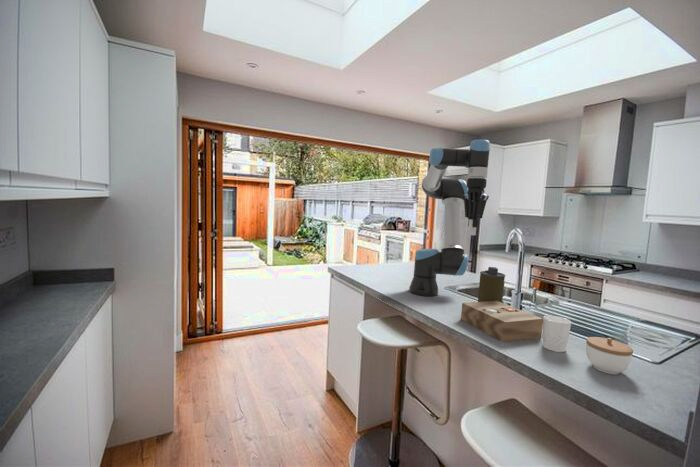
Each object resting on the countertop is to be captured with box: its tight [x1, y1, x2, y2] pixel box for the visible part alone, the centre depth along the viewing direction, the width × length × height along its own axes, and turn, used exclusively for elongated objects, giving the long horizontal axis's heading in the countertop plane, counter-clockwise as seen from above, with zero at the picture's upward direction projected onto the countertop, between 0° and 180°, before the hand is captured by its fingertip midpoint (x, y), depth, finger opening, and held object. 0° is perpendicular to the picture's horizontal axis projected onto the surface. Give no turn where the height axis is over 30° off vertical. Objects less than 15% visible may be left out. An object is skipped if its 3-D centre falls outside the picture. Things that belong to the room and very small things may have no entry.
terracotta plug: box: [504, 308, 515, 312], centre depth 126 cm, size 4×4×6 cm
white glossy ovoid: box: [486, 309, 497, 314], centre depth 123 cm, size 4×4×6 cm
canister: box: [477, 266, 506, 303], centre depth 145 cm, size 11×10×20 cm
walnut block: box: [460, 301, 543, 343], centre depth 125 cm, size 22×18×7 cm
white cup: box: [541, 314, 572, 353], centre depth 109 cm, size 8×8×10 cm
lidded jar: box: [585, 336, 634, 375], centre depth 95 cm, size 11×11×9 cm
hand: (471, 235), depth 136 cm, fingers closed
